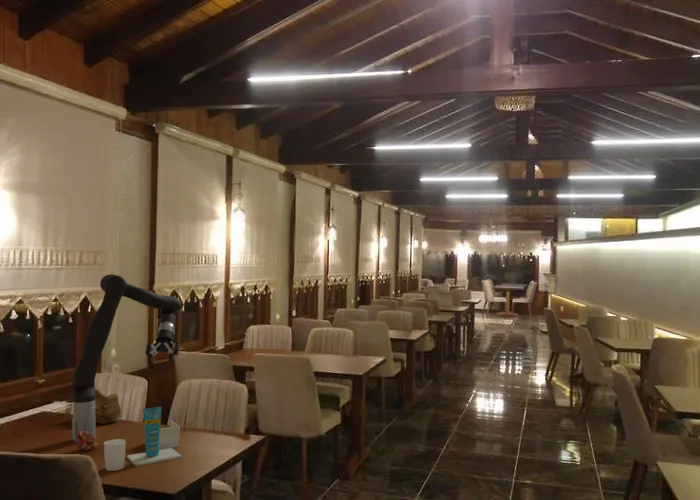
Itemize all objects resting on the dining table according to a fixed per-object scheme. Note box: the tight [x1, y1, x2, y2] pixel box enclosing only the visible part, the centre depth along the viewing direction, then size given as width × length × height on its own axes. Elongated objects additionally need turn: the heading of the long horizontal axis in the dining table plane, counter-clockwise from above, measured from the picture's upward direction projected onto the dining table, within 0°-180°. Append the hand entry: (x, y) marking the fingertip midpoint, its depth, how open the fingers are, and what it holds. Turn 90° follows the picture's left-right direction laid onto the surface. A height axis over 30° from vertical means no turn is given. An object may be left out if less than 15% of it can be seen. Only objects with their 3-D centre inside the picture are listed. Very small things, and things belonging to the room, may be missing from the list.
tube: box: [142, 405, 163, 457], centre depth 255 cm, size 7×5×19 cm, turn 129°
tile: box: [126, 448, 182, 467], centre depth 254 cm, size 18×13×1 cm
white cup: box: [103, 438, 127, 472], centre depth 242 cm, size 8×8×10 cm
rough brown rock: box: [95, 388, 122, 425], centre depth 314 cm, size 23×17×15 cm
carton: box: [144, 420, 181, 450], centre depth 272 cm, size 12×14×8 cm
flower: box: [76, 431, 99, 452], centre depth 267 cm, size 10×9×8 cm
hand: (160, 362), depth 286 cm, fingers open, 8 cm apart
